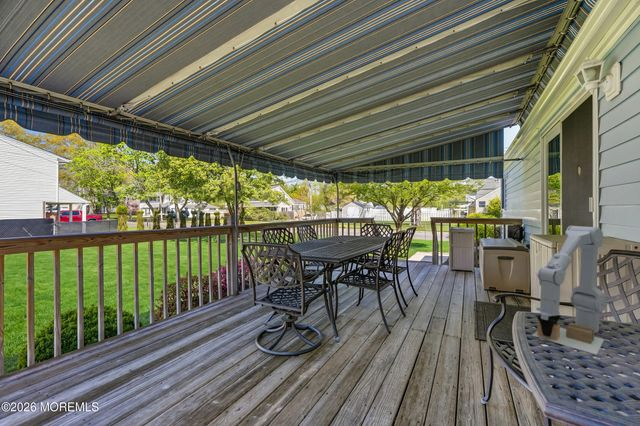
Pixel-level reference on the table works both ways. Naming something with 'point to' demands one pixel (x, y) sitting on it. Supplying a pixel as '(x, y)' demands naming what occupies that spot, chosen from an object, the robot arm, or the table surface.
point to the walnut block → (580, 333)
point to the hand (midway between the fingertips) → (548, 334)
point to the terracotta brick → (554, 334)
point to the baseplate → (575, 342)
